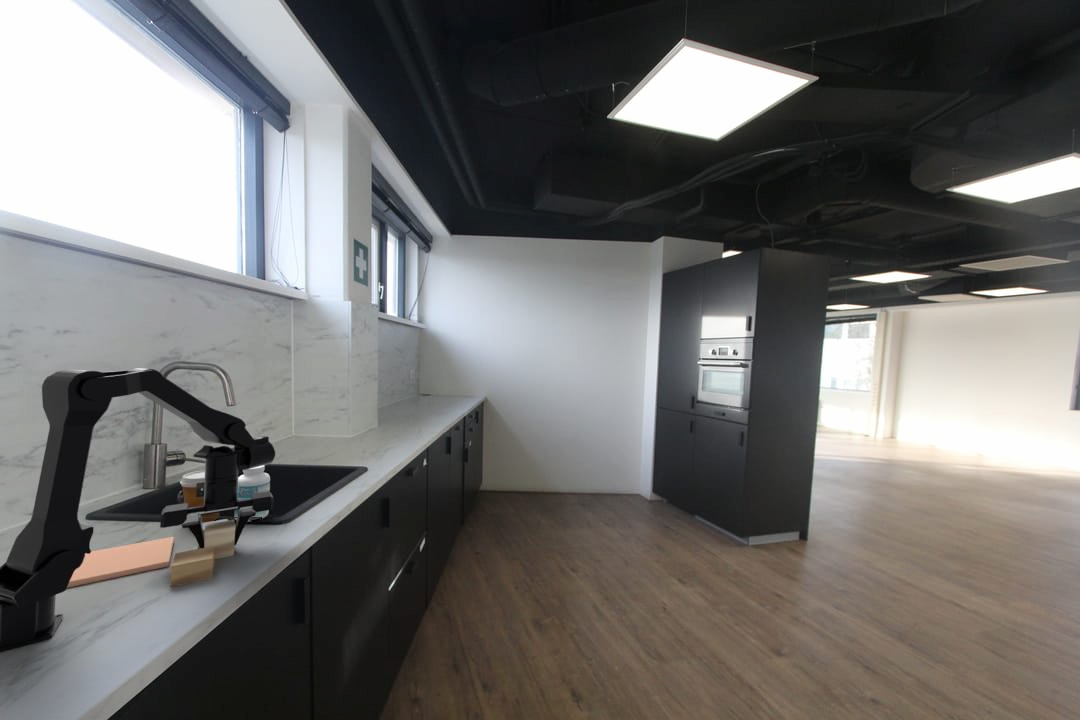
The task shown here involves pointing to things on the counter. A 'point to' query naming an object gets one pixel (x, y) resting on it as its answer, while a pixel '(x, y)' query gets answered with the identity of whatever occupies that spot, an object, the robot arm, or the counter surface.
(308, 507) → the counter surface
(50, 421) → the robot arm
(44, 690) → the counter surface
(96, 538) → the counter surface
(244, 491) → the pill bottle
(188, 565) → the oak block
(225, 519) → the grey plastic block
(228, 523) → the maple block
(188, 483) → the disposable coffee cup
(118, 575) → the terracotta tile
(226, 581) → the counter surface
